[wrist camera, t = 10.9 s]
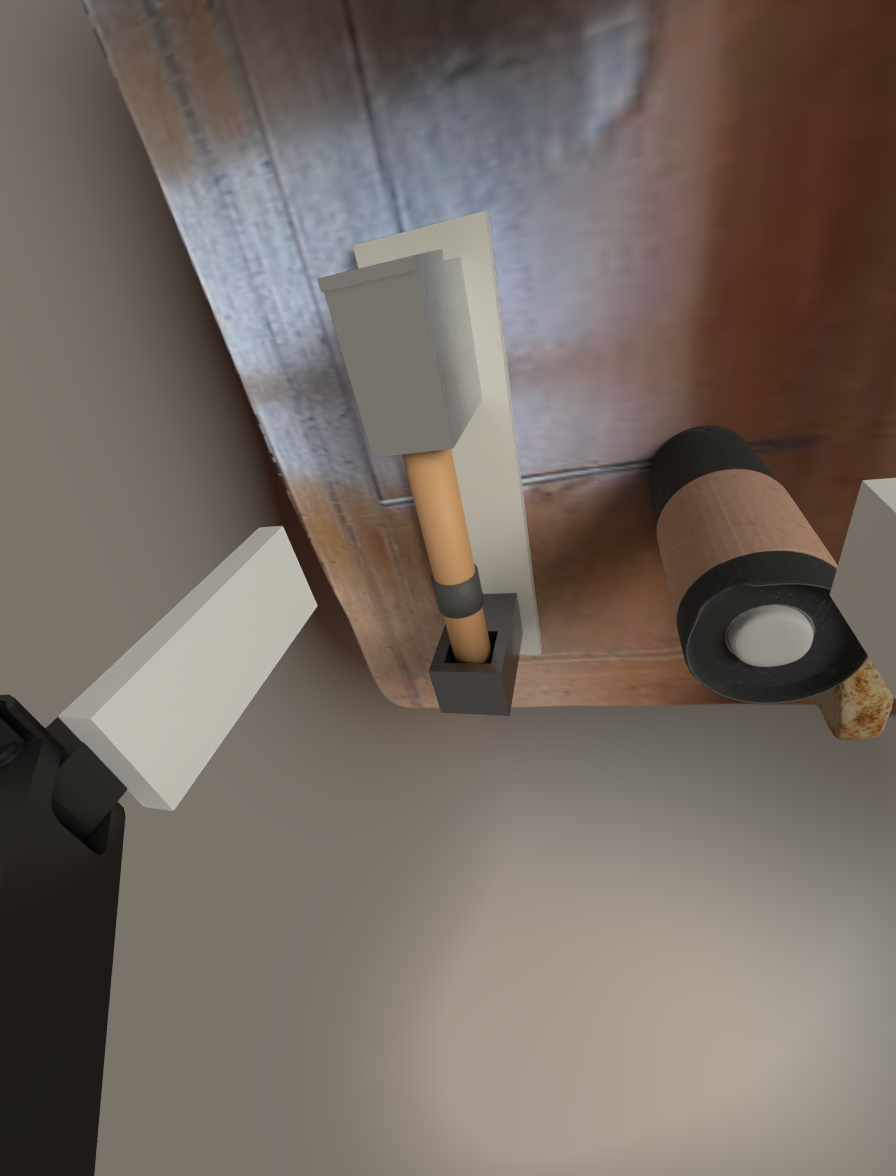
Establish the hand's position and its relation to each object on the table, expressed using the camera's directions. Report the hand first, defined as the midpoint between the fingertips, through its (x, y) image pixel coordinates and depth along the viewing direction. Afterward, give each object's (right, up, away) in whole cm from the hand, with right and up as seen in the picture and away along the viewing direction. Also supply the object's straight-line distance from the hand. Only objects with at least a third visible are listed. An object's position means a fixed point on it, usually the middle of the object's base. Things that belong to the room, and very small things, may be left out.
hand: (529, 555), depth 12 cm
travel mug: (+17, +8, +26) cm, 32 cm away
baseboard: (0, +8, +31) cm, 32 cm away
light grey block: (-3, +17, +23) cm, 29 cm away
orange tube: (-1, +2, +27) cm, 27 cm away
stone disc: (+31, -4, +32) cm, 44 cm away
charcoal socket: (+2, -3, +37) cm, 37 cm away
